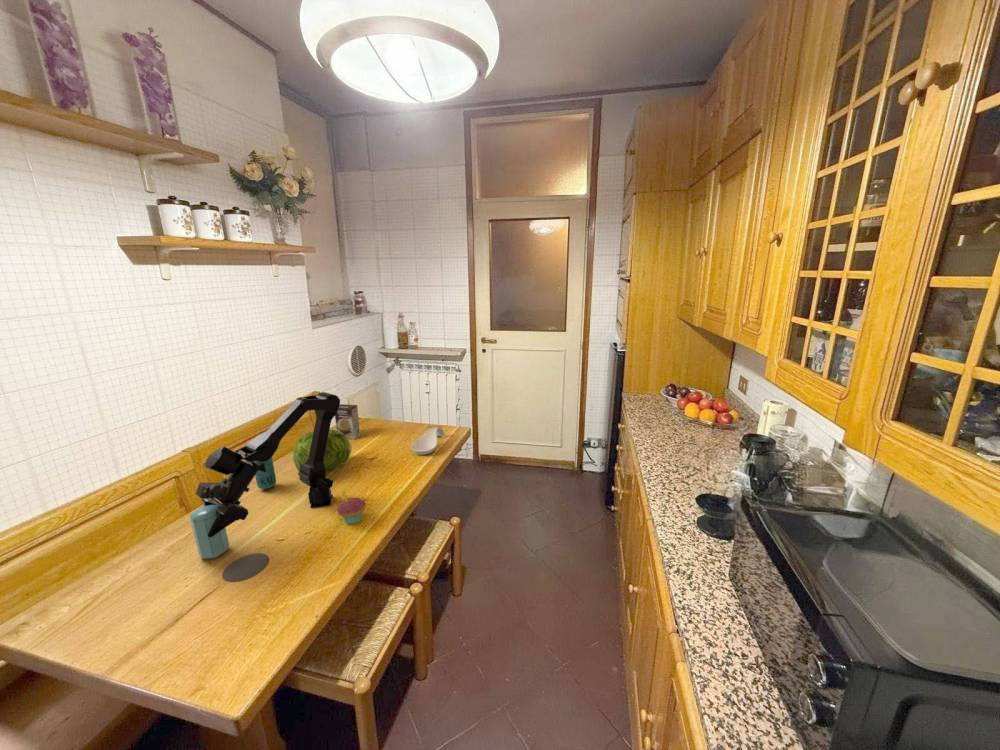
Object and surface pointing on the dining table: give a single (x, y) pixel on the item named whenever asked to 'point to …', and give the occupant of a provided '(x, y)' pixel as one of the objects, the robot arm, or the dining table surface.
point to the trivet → (245, 567)
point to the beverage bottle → (266, 475)
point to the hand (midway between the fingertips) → (204, 532)
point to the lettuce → (334, 452)
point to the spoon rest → (427, 441)
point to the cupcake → (351, 509)
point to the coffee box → (348, 421)
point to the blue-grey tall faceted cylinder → (201, 527)
